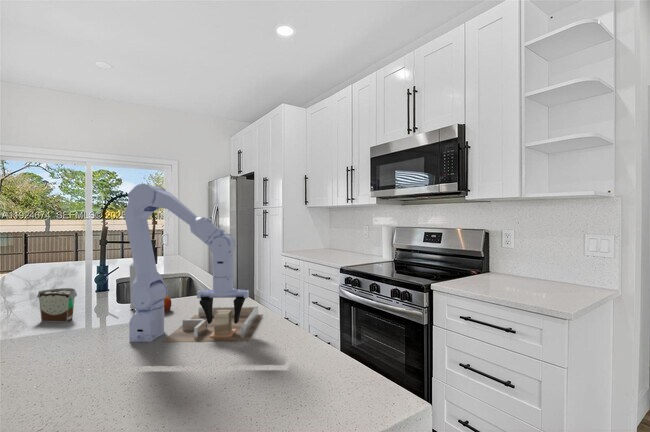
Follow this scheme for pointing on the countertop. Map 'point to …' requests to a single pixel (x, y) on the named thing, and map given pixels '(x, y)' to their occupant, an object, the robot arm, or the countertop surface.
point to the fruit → (167, 304)
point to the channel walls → (201, 324)
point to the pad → (224, 335)
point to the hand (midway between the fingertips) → (223, 322)
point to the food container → (57, 304)
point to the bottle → (132, 278)
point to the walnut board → (188, 335)
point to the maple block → (223, 322)
